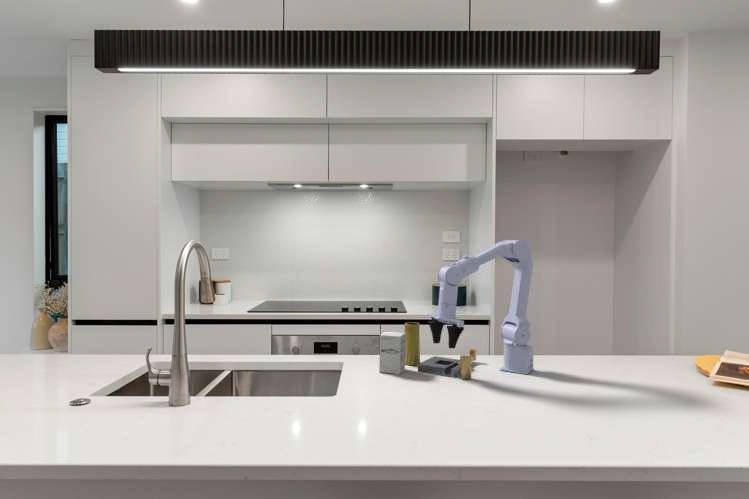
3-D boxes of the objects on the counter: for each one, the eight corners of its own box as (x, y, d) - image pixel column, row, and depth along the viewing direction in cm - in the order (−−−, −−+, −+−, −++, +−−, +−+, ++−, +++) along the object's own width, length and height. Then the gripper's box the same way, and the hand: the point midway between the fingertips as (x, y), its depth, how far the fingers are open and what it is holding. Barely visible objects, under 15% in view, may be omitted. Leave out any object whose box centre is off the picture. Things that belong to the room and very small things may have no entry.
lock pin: (476, 359, 184) (476, 349, 184) (461, 368, 172) (461, 357, 172) (471, 358, 185) (471, 349, 184) (456, 367, 173) (456, 356, 173)
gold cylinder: (473, 378, 163) (473, 356, 163) (468, 380, 160) (469, 358, 160) (462, 376, 165) (462, 354, 165) (458, 378, 162) (458, 357, 162)
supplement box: (378, 372, 169) (378, 334, 168) (384, 367, 176) (385, 330, 175) (400, 374, 167) (400, 336, 166) (405, 369, 174) (406, 332, 173)
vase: (400, 362, 182) (400, 322, 182) (415, 360, 185) (415, 321, 184) (408, 366, 177) (408, 325, 176) (423, 364, 179) (424, 324, 179)
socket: (469, 368, 175) (469, 361, 175) (454, 377, 164) (454, 369, 164) (434, 363, 182) (434, 356, 181) (417, 371, 171) (417, 363, 170)
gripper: (423, 300, 168) (420, 341, 169) (453, 306, 156) (449, 350, 156) (440, 300, 172) (436, 340, 172) (470, 306, 160) (466, 350, 160)
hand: (444, 345), depth 165 cm, fingers open, 7 cm apart
